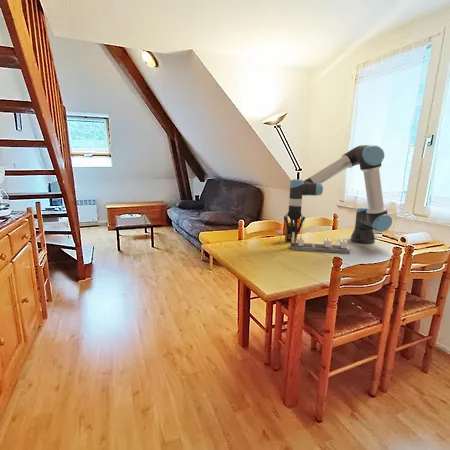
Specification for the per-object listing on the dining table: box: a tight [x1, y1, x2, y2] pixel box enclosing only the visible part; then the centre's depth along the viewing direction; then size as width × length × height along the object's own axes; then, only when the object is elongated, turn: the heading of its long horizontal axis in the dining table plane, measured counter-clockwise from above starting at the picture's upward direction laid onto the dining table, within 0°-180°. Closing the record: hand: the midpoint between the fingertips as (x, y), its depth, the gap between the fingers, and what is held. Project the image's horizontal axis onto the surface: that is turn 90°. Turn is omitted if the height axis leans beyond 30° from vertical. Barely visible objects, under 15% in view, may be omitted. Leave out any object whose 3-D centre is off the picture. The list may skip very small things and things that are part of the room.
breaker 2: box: [323, 238, 332, 248], centre depth 178 cm, size 3×5×4 cm, turn 171°
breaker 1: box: [297, 236, 305, 246], centre depth 181 cm, size 3×5×4 cm, turn 171°
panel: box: [290, 242, 351, 254], centre depth 180 cm, size 34×10×2 cm, turn 81°
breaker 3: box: [339, 239, 348, 249], centre depth 177 cm, size 3×5×4 cm, turn 171°
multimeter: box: [279, 212, 303, 243], centre depth 196 cm, size 15×10×20 cm
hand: (292, 242), depth 182 cm, fingers closed
